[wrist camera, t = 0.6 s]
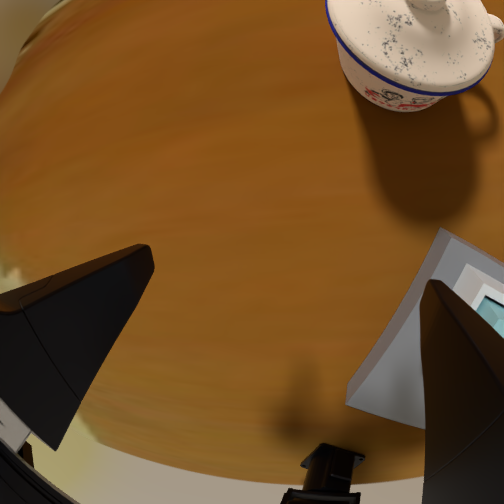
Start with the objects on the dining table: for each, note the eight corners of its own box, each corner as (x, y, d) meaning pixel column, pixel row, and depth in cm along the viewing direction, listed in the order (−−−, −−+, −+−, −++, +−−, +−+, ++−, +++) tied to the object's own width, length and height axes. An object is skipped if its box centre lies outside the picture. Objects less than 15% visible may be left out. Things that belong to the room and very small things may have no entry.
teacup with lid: (357, 126, 20) (364, 97, 9) (319, 21, 18) (286, -66, 7) (494, 105, 15) (581, 83, 5) (453, 4, 13) (498, -69, 3)
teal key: (487, 372, 16) (498, 398, 13) (443, 355, 17) (451, 382, 14) (525, 319, 14) (541, 341, 11) (482, 295, 15) (498, 318, 12)
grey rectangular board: (495, 428, 23) (505, 466, 17) (347, 383, 27) (341, 433, 21) (580, 317, 16) (607, 349, 10) (440, 226, 20) (468, 253, 14)
